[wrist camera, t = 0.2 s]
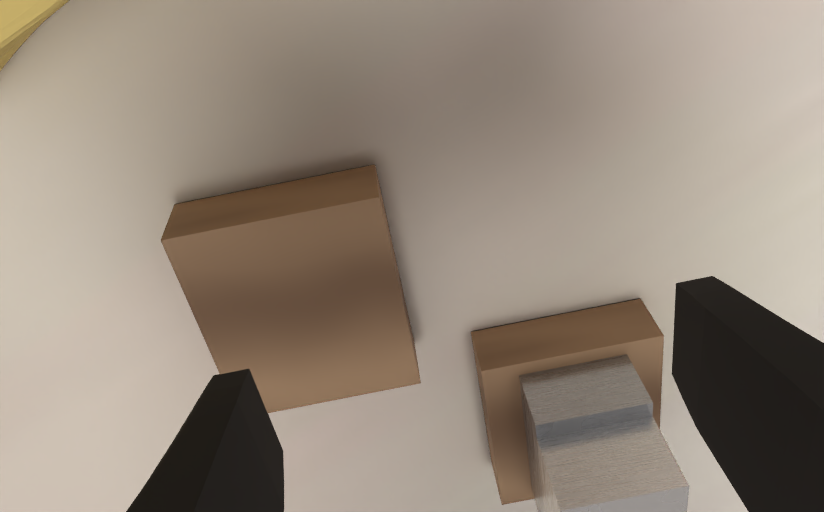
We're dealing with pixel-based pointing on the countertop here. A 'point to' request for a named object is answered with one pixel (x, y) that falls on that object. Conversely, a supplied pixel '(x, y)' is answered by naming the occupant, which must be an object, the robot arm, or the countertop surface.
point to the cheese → (22, 22)
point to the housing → (597, 441)
